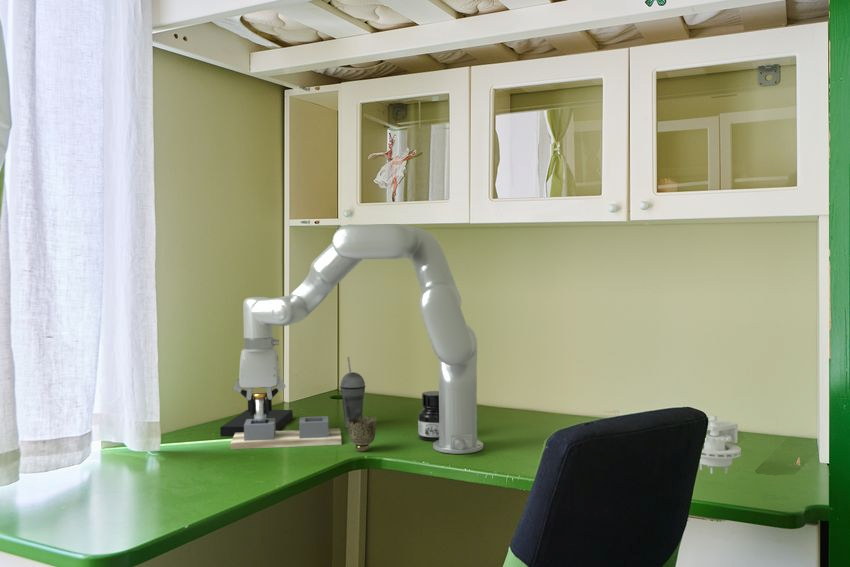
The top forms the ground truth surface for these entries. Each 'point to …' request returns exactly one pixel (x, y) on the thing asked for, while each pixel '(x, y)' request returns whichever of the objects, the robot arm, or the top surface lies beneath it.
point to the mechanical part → (720, 444)
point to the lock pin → (259, 407)
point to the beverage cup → (352, 395)
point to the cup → (362, 432)
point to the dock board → (286, 440)
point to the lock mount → (313, 427)
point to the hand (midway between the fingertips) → (260, 413)
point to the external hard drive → (238, 422)
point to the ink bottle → (429, 416)
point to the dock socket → (259, 430)
